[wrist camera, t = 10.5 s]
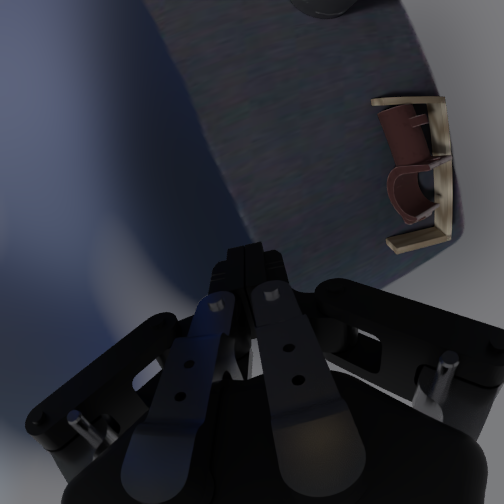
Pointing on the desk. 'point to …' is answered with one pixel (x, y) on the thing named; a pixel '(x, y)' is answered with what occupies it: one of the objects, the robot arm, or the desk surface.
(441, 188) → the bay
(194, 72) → the desk surface
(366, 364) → the robot arm
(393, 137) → the bracket
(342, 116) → the desk surface
